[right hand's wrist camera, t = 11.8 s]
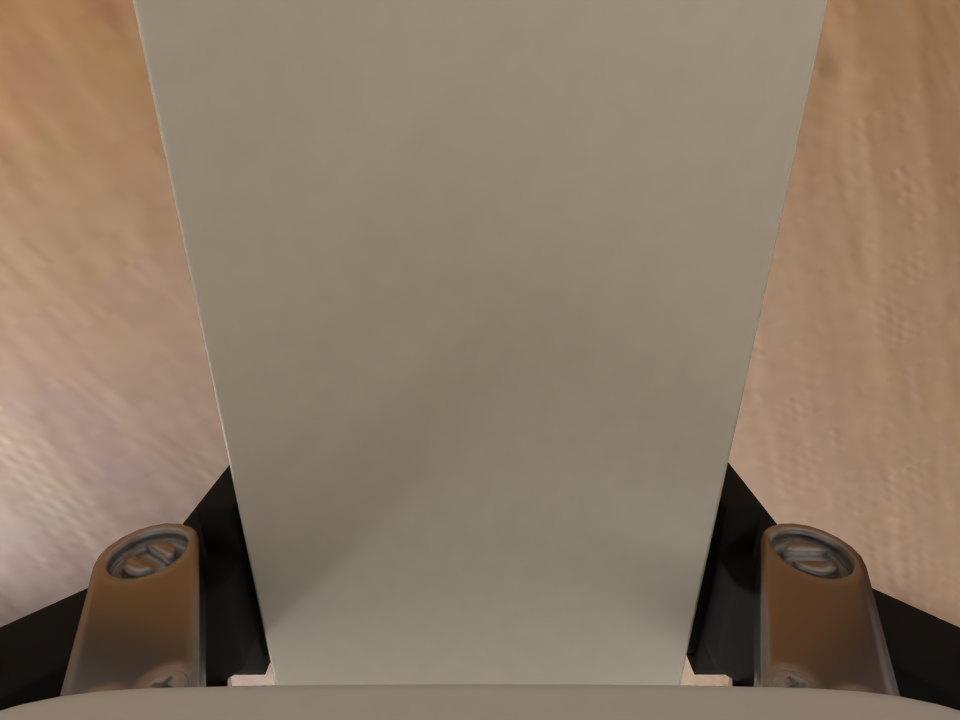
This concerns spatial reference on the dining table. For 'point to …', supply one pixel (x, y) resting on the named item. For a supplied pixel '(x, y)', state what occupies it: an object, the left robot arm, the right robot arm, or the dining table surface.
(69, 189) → the dining table surface
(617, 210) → the bar
